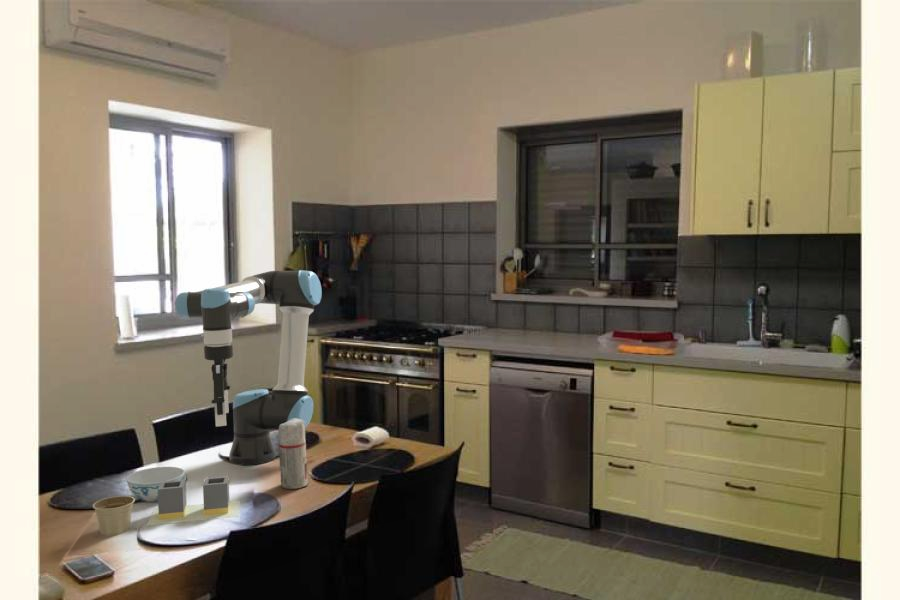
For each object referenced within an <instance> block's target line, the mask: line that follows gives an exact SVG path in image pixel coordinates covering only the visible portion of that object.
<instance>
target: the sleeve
mask: <svg viewBox="0 0 900 600" xmlns="http://www.w3.org/2000/svg"><path fill="white" fill-rule="evenodd" d="M202 493H203V495H202V496H203V497H202V498H203V504H204V515H214V514H224V513H228V512H229V506H230V501H231V500H230V477H229V476H226V475H225V476H217V477H216V476H213V477H206V478H204V481H203V484H202Z"/></svg>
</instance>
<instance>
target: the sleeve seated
mask: <svg viewBox="0 0 900 600" xmlns="http://www.w3.org/2000/svg"><path fill="white" fill-rule="evenodd" d="M157 505H158V509H159V520H164V519H174V518H184V515H185V513H186V510H187V505H188V504H187V484H186V479H183V480H180V481H168V482H161V484H160V486H159V488H158V501H157Z"/></svg>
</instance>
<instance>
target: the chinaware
mask: <svg viewBox="0 0 900 600" xmlns="http://www.w3.org/2000/svg"><path fill="white" fill-rule="evenodd" d="M184 477H185V470H184V469H183V468H181V467H177V466H175V467H174V466H159V467H158V466H157V467H156V466H155V467H150V468H145V469H142V470H138V471H135V472H133V473H131V474H129V475H128V476H126V483H127V486H128V488H129V491H130V492H131V493H132V494H133V496H134V498H136V499H138V500H140V501H142V502H147V503H151V502H152V503H154V502H158V488H159V486H160V484H161V482H168V481H180V480H184Z"/></svg>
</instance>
